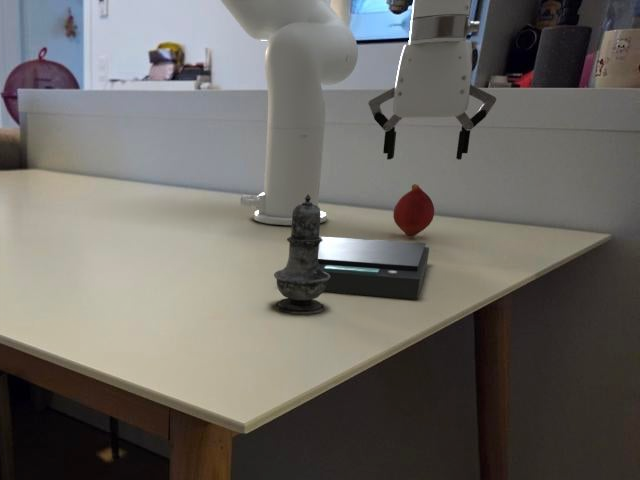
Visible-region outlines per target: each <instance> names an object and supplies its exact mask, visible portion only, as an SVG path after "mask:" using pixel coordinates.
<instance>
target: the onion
mask: <svg viewBox="0 0 640 480" xmlns="http://www.w3.org/2000/svg"><path fill="white" fill-rule="evenodd" d="M434 216H435V206H434V203H433V200H432V199H431V197H430V196H429V195H428V194H427V193H426V192H425V191H424V190H423V189H422V188H421V187H420V186H419V184H417V183H414V184H412V185H411V190H410V191H408V192H406V193H405V194H403V195H402V197H400V198H399V200H398V201H397V202H396V204H395V205H394V209H393V216H392V217H393V220H394V224H396V226H397V227H398V228H399V229H400V231H402V232H403V233H404V235H405V236H406V237H408V238H412V237H415V236H416V235H418V234H420V233H422V232H423V231H424V230H425V229H427V227H429V226H430V225H431V223H432V222H433V220H434V218H435V217H434Z"/></svg>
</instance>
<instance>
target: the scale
mask: <svg viewBox="0 0 640 480" xmlns="http://www.w3.org/2000/svg"><path fill="white" fill-rule="evenodd" d="M319 237H320V238H321V239H322V242H320V243H319V251H318V264H319V268H320V270H321V271H323V272H326V273H328V274H329V275H330V279H329V280H327V284H326V287H325V289H324V291H323V292H326V293H336V294H337V293H338V294H349V295H358V296H359V295H360V296H361V295H362V296H369V297H370V296H372V297H381V298H393V299H406V300H418V298H419V295H420V291H421V289H422V284H423V280H424V277H425V273H426V271H427V270H426V269H427V266H428V259H429V253H430V246H426V245H427V244H426V242H413V241H411V242H410V241H399V240H398V241H397V240H396V241H395V240H381V239H367V238H366V239H365V238H364V239H363V238H350V237H348V238H347V237H332V236H319Z"/></svg>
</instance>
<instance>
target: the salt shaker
mask: <svg viewBox="0 0 640 480" xmlns="http://www.w3.org/2000/svg"><path fill="white" fill-rule="evenodd" d="M304 199H305V200H306V201H305V202H303V203H302V204H300V205H298V206H296V207H295V208H294V210H293V214H292V225H291V231H290V236H289V237H287V239H286V241H287V242H289V247H288V248H289V249H288V258H287V263H286V266H285V267H283V268H282V269H279V270H277V271H275V272H274V274H273V277H274V278H275V279H276V286H277V289H278V291H279V292H280V294H282V296H283V297H285V298H282V299H280V300H279V301H277V302H276V303H274V308H275V309H276V310H277V311H280V312H281V313H282V312H283V313H285V314H286V313H287V314H293V315H314V314H319V313H322V312H324V311H325V305H324V304H322V303H321V301H318V300H316V299H317V298H318V297H320V296H321V295H322V294H323V293H324V292H325V291H324V289H325V287H326V284H327V280H329V279H330V275H329V274H328V273H326V272H323V271H321V270H320V268H319V264H318V251H319V243H320V242H322V239H321V238H320V237H321V236H320V230H321V229H320V228H321V223H320V218H321V211H322V210H321V209H320V207H319V205H318V206H316V205H314V204H312V203H311V202H310V199H311V198H310V196H309V194H308V195H307V196H306V198H304Z"/></svg>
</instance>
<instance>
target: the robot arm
mask: <svg viewBox="0 0 640 480" xmlns="http://www.w3.org/2000/svg"><path fill="white" fill-rule="evenodd" d="M220 2H221V3H222V4H223V5H224V7H225V8H226V10H228V12H229V13H230V14H231V15H232V17H233V18H234V19H235V20H236V22H237V23H238V25H240V27H241V28H242V30H243V31H244V32H245V33H246V34H247V35H248V36H249V37H250V38H253V39H254V40H258V41H264V42H268V43H267V46H266V48H265V49H266V50H265V56H264V69H265V77H266V86H267V121H266V122H267V125H266V129H267V130H266V147H265V164H264V166H265V167H264V183H263V184H264V185H263V192H261V193H259V194H258V195H250V194H249V195H248V194H241V196H240V200H239V202H240V203H239V204H240V206H241V207H246V208H251V207H253V208H256V209H258V210H256V211H255V212H253V220H255V221H256V222H259V223H262V224H268V225H275V226H292V214H293V210H294V208H295V207H296V206H298V205H300V204H302V203H303V202H305V201H306V200H305V199H304V198H306V196H307V195H308V194H309V196H310V198H311V199H310V202H311V203H312V204H314V205H316V206H318V207H319V202H320V201H319V200H320V188H321V178H322V177H321V175H322V165H323V151H324V139H325V129H326V128H325V126H326V125H325V124H326V101H325V95H324V91H323V87H322V86H332V85H336V84H340V83H341V82H343V81H345V80H346V79H347V78H348V77H350V75H351V74H352V73H353V71H354V70H355V68H356V66H357V62H358V58H359V49H358V48H359V47H358V43H357V40H356V37H355V35H354V34H353V32H352V30H351V29H350V28H349V26H347V24H346V22H344V21H343V19H342V18H341V17H340V16H339V15H338V14H337V12H336V11H335V10H334V9H333V8H332V6H330V4H329V2H327V0H220ZM471 4H472V0H413V1H412V10H411V11H412V12H411V20H410V31H409V40H408V44H404V45H403V48H402V52H401V55H400V58H399V59H400V60H399V64H398V70H397V74H396V80H395V86H394V87H392V88H390V89H388V90H387V91H385V92H383V93H381V94H379V95H377V96H375V97H373V98H371V99H370V100H368V103H367V104H368V107H369V110H370V112H371V114H372V116H373V119H374V121H375V122H376V123H377V124H378V125H379V126H380V127H381V128H382V130H383V131H384V138H383V139H384V140H383V151H382V152H383V154H387V155H386V160H392V159H393V158H395V149H396V140H397V131H396V126H397V124H399V122H401V120H402V119H403V118H404V119H405V118H407V119H413V118H416V119H418V118H419V119H421V118H422V119H423V118H452V117H453V118H454V117H455V118H456V120H457V121H458V122H459V123H460V125H461V128H460V129H461V130H459V134H458V141H457V150H456V158H455V159H456V160H459V161H460V160H462V158H463V154H468V152H469V144H470V138H471V131H472V130H473V128H475V127H476V126H477V125H478V124H479V123H481V122H482V121H483V120H484V119H485V118H486V117H487V115H488V114H489V112H490V111H491V110H492V108H493V106H494V105H495V103H496V102H497V97H496V96H494V95H493V94H491V93H489V92H487V91H485V90H483V89H480V88H479V87H477V86H475V85H473V84H472V71H473V46H472V45H473V43H472V41H470V40H467V36H469V35H470V34H472V33H477V32H479V28H480V20H474V19H471V18H470V12H471ZM470 96H471V97H473V98H475V99H477V100H479V101H481V102H482V105H481V107H480V109H479V110H478V111H477V112H476V113H475V114H473V116H472V117H469V115H468V114H467V113H466V111H467V110H468V106H469V103H470ZM392 99H393V102H392V103H393V104H392V113H393V114H392V115H391V117H390V118H389V119H388V117H387V116H386V115H385V114H384V113H383V111H382V108H381V106H382V105H383V104H384V103H387V102H388V101H390V100H392ZM326 221H327V214H326V212H324V211H322V210H321V218H320V224H322V223H324V222H326Z"/></svg>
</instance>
